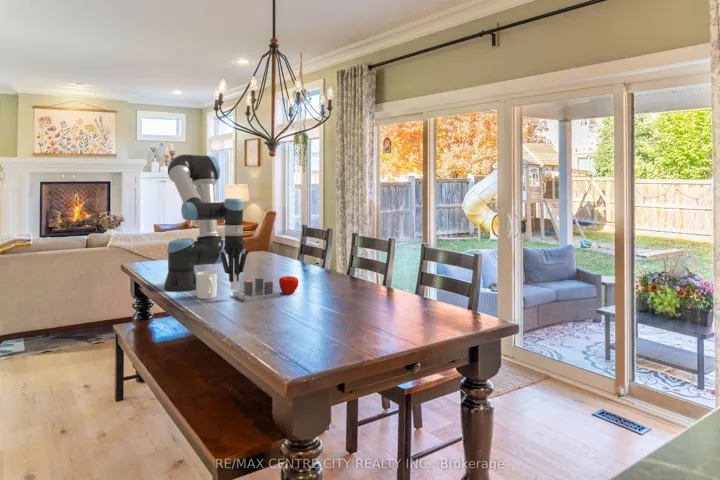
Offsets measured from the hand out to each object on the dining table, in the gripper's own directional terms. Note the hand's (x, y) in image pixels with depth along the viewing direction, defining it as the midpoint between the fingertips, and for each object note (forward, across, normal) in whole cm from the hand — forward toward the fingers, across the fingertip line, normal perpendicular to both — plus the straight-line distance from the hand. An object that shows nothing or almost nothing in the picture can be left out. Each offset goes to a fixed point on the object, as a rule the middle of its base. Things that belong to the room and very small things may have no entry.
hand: (233, 289), depth 210 cm
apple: (+5, +27, -1) cm, 27 cm away
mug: (+5, -8, +9) cm, 13 cm away
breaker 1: (+3, +14, +5) cm, 16 cm away
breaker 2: (+3, +14, -4) cm, 15 cm away
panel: (+5, +11, 0) cm, 12 cm away
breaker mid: (+3, +7, 0) cm, 8 cm away
